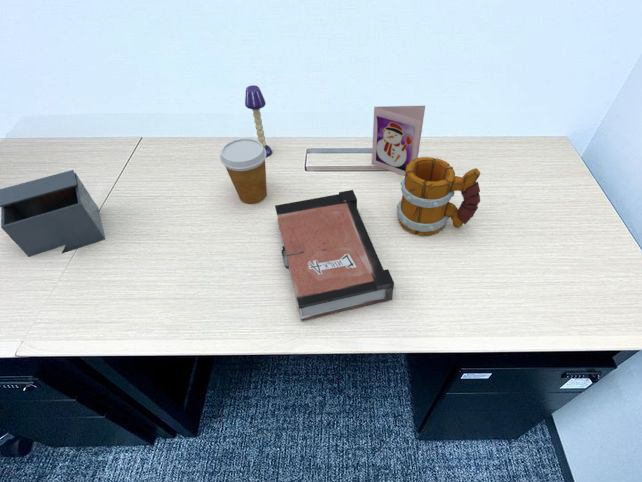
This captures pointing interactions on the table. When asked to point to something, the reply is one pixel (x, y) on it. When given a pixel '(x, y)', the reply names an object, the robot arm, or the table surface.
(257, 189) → the disposable coffee cup
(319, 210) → the book
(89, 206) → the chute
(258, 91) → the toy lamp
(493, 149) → the table surface
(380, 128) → the greeting card
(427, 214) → the mug
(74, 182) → the flap
